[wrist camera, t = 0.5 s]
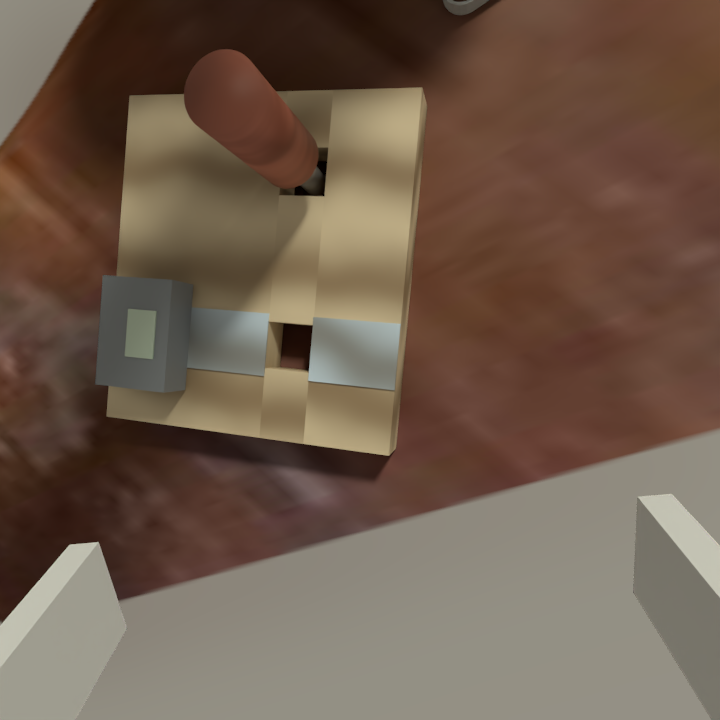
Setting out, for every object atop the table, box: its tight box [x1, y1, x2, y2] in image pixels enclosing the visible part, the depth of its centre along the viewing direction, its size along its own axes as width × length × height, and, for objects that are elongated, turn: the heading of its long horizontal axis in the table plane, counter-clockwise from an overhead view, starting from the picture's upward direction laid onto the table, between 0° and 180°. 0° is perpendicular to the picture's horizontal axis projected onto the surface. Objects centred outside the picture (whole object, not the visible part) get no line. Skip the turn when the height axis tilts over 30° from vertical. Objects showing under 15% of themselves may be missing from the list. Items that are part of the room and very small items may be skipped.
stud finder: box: [95, 275, 193, 393], centre depth 35 cm, size 7×5×2 cm
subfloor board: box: [106, 87, 427, 456], centre depth 35 cm, size 22×20×3 cm
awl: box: [184, 49, 326, 196], centre depth 29 cm, size 4×4×13 cm
